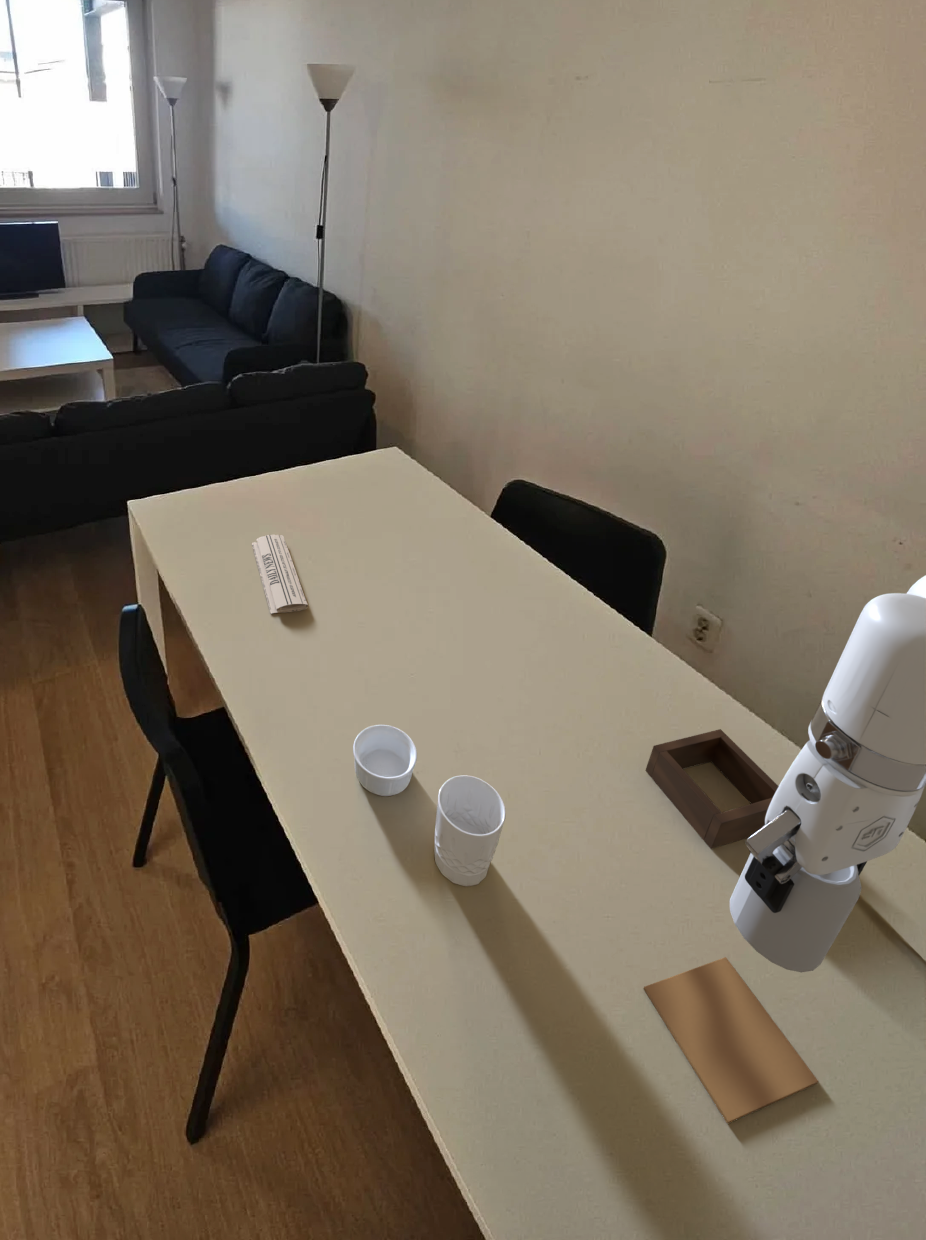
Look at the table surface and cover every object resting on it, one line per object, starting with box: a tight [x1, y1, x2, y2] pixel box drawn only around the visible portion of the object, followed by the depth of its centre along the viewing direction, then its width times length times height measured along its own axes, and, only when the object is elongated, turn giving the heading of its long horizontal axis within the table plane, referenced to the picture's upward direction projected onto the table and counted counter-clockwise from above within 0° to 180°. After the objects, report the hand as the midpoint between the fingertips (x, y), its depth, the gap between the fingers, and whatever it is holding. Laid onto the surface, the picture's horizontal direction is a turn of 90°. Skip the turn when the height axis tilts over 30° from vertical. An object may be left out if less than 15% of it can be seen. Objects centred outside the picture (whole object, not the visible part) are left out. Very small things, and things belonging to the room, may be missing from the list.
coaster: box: [642, 956, 819, 1124], centre depth 68 cm, size 11×11×1 cm
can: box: [729, 825, 862, 973], centre depth 60 cm, size 8×8×12 cm
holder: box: [645, 728, 779, 850], centre depth 92 cm, size 12×12×5 cm
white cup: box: [433, 774, 507, 887], centre depth 81 cm, size 8×8×10 cm
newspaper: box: [251, 534, 309, 615], centre depth 135 cm, size 24×7×2 cm, turn 13°
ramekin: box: [352, 724, 418, 797], centre depth 93 cm, size 9×9×4 cm
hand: (797, 882), depth 60 cm, fingers closed on can, 7 cm apart
